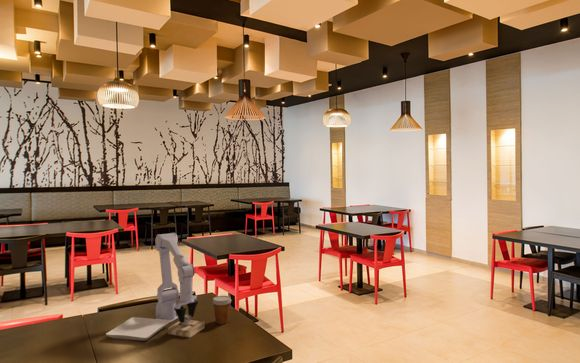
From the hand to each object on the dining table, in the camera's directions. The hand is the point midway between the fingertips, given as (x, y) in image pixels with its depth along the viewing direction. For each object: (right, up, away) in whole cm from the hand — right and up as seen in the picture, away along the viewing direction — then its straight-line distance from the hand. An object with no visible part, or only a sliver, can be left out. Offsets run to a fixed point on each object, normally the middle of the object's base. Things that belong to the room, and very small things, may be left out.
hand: (186, 319), depth 185 cm
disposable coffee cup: (+15, -6, +12) cm, 20 cm away
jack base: (0, -6, 0) cm, 6 cm away
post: (0, -6, 0) cm, 6 cm away
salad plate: (-22, -6, -1) cm, 23 cm away
